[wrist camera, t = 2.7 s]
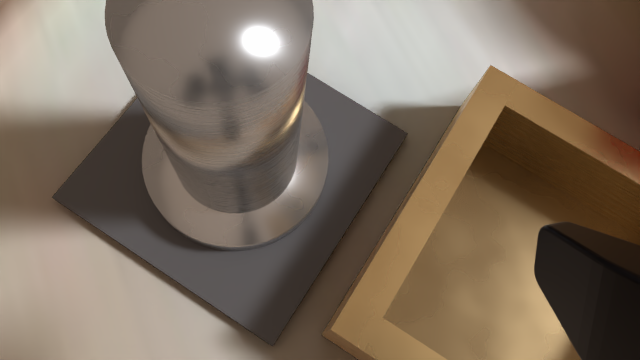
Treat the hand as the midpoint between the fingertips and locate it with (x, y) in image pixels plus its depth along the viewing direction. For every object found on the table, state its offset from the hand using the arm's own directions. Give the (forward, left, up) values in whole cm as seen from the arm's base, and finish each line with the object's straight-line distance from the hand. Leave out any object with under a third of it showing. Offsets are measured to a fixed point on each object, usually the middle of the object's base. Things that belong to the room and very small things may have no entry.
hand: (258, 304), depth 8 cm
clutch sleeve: (+5, -5, -12) cm, 14 cm away
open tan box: (-7, -7, -13) cm, 16 cm away
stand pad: (+5, -5, -13) cm, 14 cm away
